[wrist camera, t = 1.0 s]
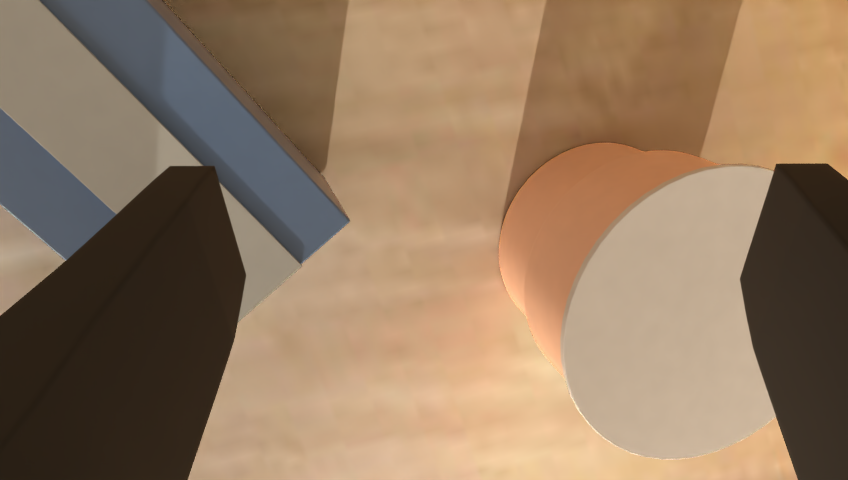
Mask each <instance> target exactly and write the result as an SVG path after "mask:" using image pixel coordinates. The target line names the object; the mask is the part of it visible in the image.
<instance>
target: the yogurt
mask: <svg viewBox="0 0 848 480" xmlns="http://www.w3.org/2000/svg"><path fill="white" fill-rule="evenodd" d="M773 173H774V170H770V169H767V168H764V167H760V166H754V165H746V164H721V165H719V164H716V163H714V162H711V161H708V160H706V159H703V158H700V157H697V156H694V155H691V154H687V153H684V152H678V151H671V150H652V151H646V152H644V151H641V150H639V149H636V148H634V147H630V146H627V145H623V144H617V143H593V144H586V145H582V146H579V147H576V148H572V149H570V150H568V151H566V152H563V153H561V154H559V155H558V156H556V157H554V158H553V159H551V160H549V161H548V162H547V163H545V164H544V165H543V166H541V167H540V168H539V169H538V170H537V171H536V172H535V173H534V174H533V175H532V176H531V177H530V178H528V180H527V181H526V182H525V183H524V185H523V186H522V187H521V188H520V190H519V191H518V193H517V194H516V196H515V198H514V199H513V201H512V203H511V205H510V207H509V209H508V211H507V213H506V216H505V219H504V222H503V225H502V230H501V235H500V241H499V266H500V271H501V276H502V279H503V282H504V285H505V288H506V290H507V292H508V293H509V295H510V297H511V299H512V300H513V302H514V303H515V304H516V306H517V307H518V308H519V309H520V310H521V311H522V312H523V313H524V314H525V315H526V316H527V321H528V324H529V327H530V330H531V333H532V336H533V338H534V340H535V342H536V344H537V345H538V347H539V349H540V350H541V352H542V353H543V354H544V356H545V357H546V358H547V360H548V361H549V362H550V363H551V364H552V365H553V366H554V367H555V369H556V370H557V371H558V372H559V373H560V374H561V375H562V376H563V377H564V379H565V382H566V385H567V388H568V391H569V394H570V396H571V398H572V400H573V402H574V404H575V406H576V408H577V409H578V411H579V412H580V413H581V415H582V416H583V418H584V419H585V420H586V422H587V423H588V424H589V425H590V426H591V427H592V428H593V429H594V430H595V431H596V432H597V433H598V434H599V435H600V436H601V437H603V438H604V439H606V440H607V441H609V442H610V443H611V444H613V445H614V446H616V447H619V448H621V449H623V450H625V451H627V452H629V453H633V454H636V455H640V456H643V457H648V458H655V459H685V458H692V457H698V456H702V455H706V454H710V453H713V452H716V451H718V450H721V449H724V448H726V447H729V446H731V445H733V444H735V443H737V442H739V441H741V440H743V439H745V438H747V437H748V436H750V435H752V434H753V433H755V432H756V431H758V430H759V429H761V428H762V427H764V426H765V425H766V424H767V423H769V422H770V421H771V420H773V419H774V418H775V417H776V415H775V412H774V409H773V406H772V403H771V400H770V397H769V394H768V391H767V389H766V386H765V383H764V380H763V377H762V374H761V371H760V368H759V365H758V362H757V359H756V356H755V353H754V349H753V346H752V341H751V336H750V331H749V327H748V322H747V317H746V311H745V306H744V300H743V295H742V289H741V283H740V276H741V273H742V270H743V267H744V264H745V261H746V257H747V254H748V251H749V248H750V245H751V242H752V239H753V236H754V232H755V229H756V226H757V223H758V220H759V217H760V214H761V210H762V207H763V204H764V201H765V198H766V195H767V192H768V189H769V185H770V182H771V179H772V176H773Z"/></svg>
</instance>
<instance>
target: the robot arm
mask: <svg viewBox="0 0 848 480" xmlns="http://www.w3.org/2000/svg"><path fill="white" fill-rule="evenodd" d="M245 280H246V272H245V269H244V265H243V262H242V258H241V255H240V252H239V248H238V245H237V241H236V238H235V235H234V231H233V228H232V224H231V221H230V217H229V214H228V211H227V207H226V204H225V200H224V197H223V193H222V190H221V187H220V183H219V180H218V176H217V173H216V169H215V166H169V167H168V168H167V169H166V170H165V171H164V172H162V173H161V174H160V175H159V176H158V177H157V178H155V179H154V180H153V181H152V182H151V183H150V184H149V185H148V186H147V187H145V188H144V189H143V190H142V191H141V192H140V193H139V194H138V195H137V196H136V197H135V198H134V199H133V200H131V201H130V202H129V203H128V204H127V205H126V206H125V207H124V208H123V209H122V210H121V211H120V212H119V213H118V214H116V215H115V216H114V217H113V218H112V219H111V220H110V221H109V222H108V223H107V224H106V225H105V226H104V227H102V228H101V229H100V230H99V231H98V232H97V233H96V234H95V235H94V236H93V237H91V238H90V239H89V240H88V241H87V242H86V243H85V244H84V245H83V246H82V247H80V248H79V249H78V250H77V251H76V252H75V253H74V254H73V255H72V256H71V257H69V258H68V259H67V260H66V261H65V262H64V263H63V264H62V265H61V266H59V267H58V268H57V269H56V270H55V271H54V272H52V273H51V274H50V275H49V276H48V277H46V278H45V279H44V280H43V281H42V282H40V283H39V284H38V285H37V286H36V287H34V288H33V289H32V290H31V291H30V292H28V293H27V294H26V295H25V296H24V297H22V298H21V299H20V300H19V301H18V302H16V303H15V304H14V305H13V306H12V307H10V308H9V309H8V310H7V311H6V312H4V313H3V314H2V315H1V316H0V480H188V477H189V474H190V471H191V468H192V465H193V462H194V459H195V456H196V453H197V450H198V447H199V444H200V441H201V438H202V435H203V432H204V429H205V426H206V423H207V420H208V418H209V415H210V412H211V409H212V406H213V403H214V400H215V397H216V394H217V391H218V388H219V385H220V382H221V379H222V376H223V373H224V370H225V367H226V364H227V361H228V358H229V354H230V351H231V348H232V345H233V342H234V338H235V333H236V328H237V323H238V318H239V313H240V308H241V302H242V297H243V291H244V285H245ZM740 283H741V289H742V295H743V300H744V306H745V311H746V317H747V322H748V327H749V331H750V336H751V341H752V346H753V349H754V353H755V356H756V359H757V362H758V365H759V368H760V371H761V374H762V377H763V380H764V383H765V386H766V389H767V391H768V394H769V397H770V400H771V403H772V406H773V409H774V412H775V415H776V418H777V420H778V423H779V426H780V429H781V432H782V435H783V438H784V441H785V443H786V446H787V449H788V452H789V455H790V458H791V461H792V464H793V466H794V469H795V472H796V475H797V478H798V480H848V180H847V179H846V178H845V177H843V176H842V175H841V174H840V173H839V172H837V171H836V170H835V169H833V168H832V167H831V166H830V165H828V164H776V167H775V170H774V173H773V176H772V179H771V182H770V185H769V189H768V192H767V195H766V198H765V201H764V204H763V207H762V210H761V214H760V217H759V220H758V223H757V226H756V229H755V232H754V236H753V239H752V242H751V245H750V248H749V251H748V254H747V257H746V261H745V264H744V267H743V270H742V273H741V276H740Z"/></svg>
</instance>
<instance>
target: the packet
mask: <svg viewBox="0 0 848 480" xmlns="http://www.w3.org/2000/svg"><path fill="white" fill-rule="evenodd" d="M169 166H215V169H216V173H217V176H218V180H219V183H220V187H221V190H222V193H223V197H224V200H225V204H226V207H227V211H228V214H229V217H230V221H231V224H232V228H233V231H234V235H235V238H236V241H237V245H238V248H239V252H240V255H241V258H242V262H243V265H244V269H245V272H246V280H245V285H244V291H243V297H242V302H241V308H240V313H239V318H238V322H239V321H240V320H241V319H242V318H244V317H245V316H246V315H247V314H248V313H249V312H250V311H252V310H253V309H254V308H255V307H256V306H257V305H258V304H260V303H261V302H262V301H263V300H264V299H265V298H266V297H268V296H269V295H270V294H271V293H272V292H273V291H274V290H276V289H277V288H278V287H279V286H280V285H281V284H282V283H284V282H285V281H286V280H287V279H288V278H289V277H290V276H292V275H293V274H294V273H295V272H296V271H297V270H298V269H300V268H301V267H302V263H303V262H304V261H305V260H307V259H308V258H309V257H310V256H311V255H312V254H313V253H315V252H316V251H317V250H318V249H319V248H320V247H321V246H323V245H324V244H325V243H326V242H327V241H328V240H329V239H331V238H332V237H333V236H334V235H335V234H336V233H337V232H339V231H340V230H341V229H342V228H343V227H344V226H345V225H347V224H348V223H349V221H350V220H349V218H348V216H347V214H346V213H345V211H344V209H343V208H342V206H341V205H340V203H339V201H338V200H337V198H336V196H335V195H334V193H333V191H332V190H331V188H330V186H329V185H328V183H327V181H326V180H325V178H324V177H323V176H322V175H321V174H320V173H319V172H318V171H317V169H316V168H315V167H314V166H313V165H312V164H311V163H310V162H309V161H308V160H307V158H306V157H305V156H304V155H303V154H302V153H301V152H300V151H299V150H298V149H297V148H296V146H295V145H294V144H293V143H292V142H291V141H290V140H289V139H288V138H287V137H286V135H285V134H284V133H283V132H282V131H281V130H280V129H279V128H278V127H277V126H276V125H275V123H274V122H273V121H272V120H271V119H270V118H269V117H268V116H267V115H266V114H265V112H264V111H263V110H262V109H261V108H260V107H259V106H258V105H257V104H256V103H255V102H254V100H253V99H252V98H251V97H250V96H249V95H248V94H247V93H246V92H245V91H244V89H243V88H242V87H241V86H240V85H239V84H238V83H237V82H236V81H235V80H234V79H233V77H232V76H231V75H230V74H229V73H228V72H227V71H226V70H225V69H224V68H223V66H222V65H221V64H220V63H219V62H218V61H217V60H216V59H215V58H214V57H213V56H212V54H211V53H210V52H209V51H208V50H207V49H206V48H205V47H204V46H203V45H202V43H201V42H200V41H199V40H198V39H197V38H196V37H195V36H194V35H193V34H192V33H191V31H190V30H189V29H188V28H187V27H186V26H185V25H184V24H183V23H182V22H181V20H180V19H179V18H178V17H177V16H176V15H175V14H174V13H173V12H172V11H171V10H170V8H169V7H168V6H167V5H166V4H165V3H164V2H163V1H162V0H0V205H1V206H2V207H3V208H4V209H6V210H7V211H8V212H9V213H10V214H12V215H13V216H14V217H15V218H16V219H17V220H19V221H20V222H21V223H22V224H23V225H24V226H26V227H27V228H28V229H29V230H30V231H31V232H33V233H34V234H35V235H36V236H37V237H38V238H40V239H41V240H42V241H43V242H44V243H45V244H47V245H48V246H49V247H50V248H51V249H52V250H54V251H55V252H56V253H57V254H58V255H59V256H61V257H62V258H63V259H64V260H65V261H66V260H67V259H68V258H69V257H71V256H72V255H73V254H74V253H75V252H76V251H77V250H78V249H79V248H80V247H82V246H83V245H84V244H85V243H86V242H87V241H88V240H89V239H90V238H91V237H93V236H94V235H95V234H96V233H97V232H98V231H99V230H100V229H101V228H102V227H104V226H105V225H106V224H107V223H108V222H109V221H110V220H111V219H112V218H113V217H114V216H115V215H116V214H118V213H119V212H120V211H121V210H122V209H123V208H124V207H125V206H126V205H127V204H128V203H129V202H130V201H131V200H133V199H134V198H135V197H136V196H137V195H138V194H139V193H140V192H141V191H142V190H143V189H144V188H145V187H147V186H148V185H149V184H150V183H151V182H152V181H153V180H154V179H155V178H157V177H158V176H159V175H160V174H161V173H162V172H164V171H165V170H166V169H167V168H168V167H169Z"/></svg>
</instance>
